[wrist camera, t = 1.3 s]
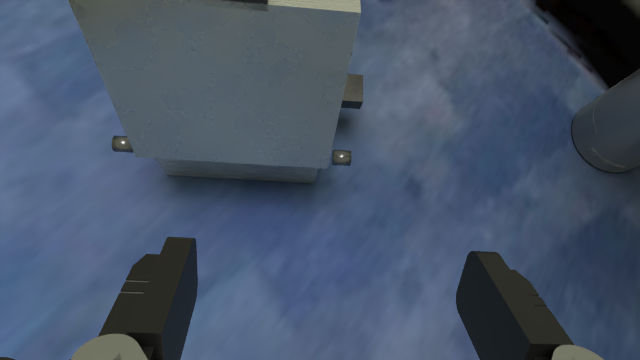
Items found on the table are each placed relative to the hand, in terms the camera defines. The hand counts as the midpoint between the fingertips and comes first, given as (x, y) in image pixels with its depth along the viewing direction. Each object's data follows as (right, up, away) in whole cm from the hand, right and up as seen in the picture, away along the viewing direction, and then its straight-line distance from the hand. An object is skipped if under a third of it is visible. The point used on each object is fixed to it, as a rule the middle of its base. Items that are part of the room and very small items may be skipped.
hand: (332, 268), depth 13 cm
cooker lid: (-7, +10, +19) cm, 23 cm away
